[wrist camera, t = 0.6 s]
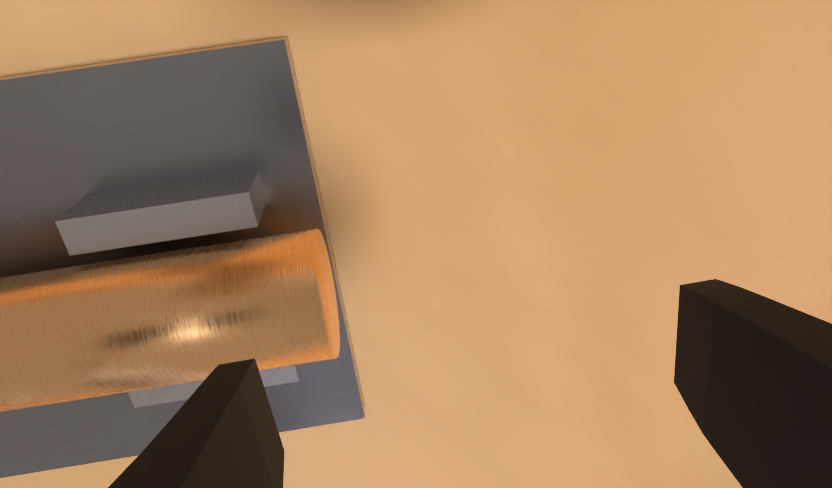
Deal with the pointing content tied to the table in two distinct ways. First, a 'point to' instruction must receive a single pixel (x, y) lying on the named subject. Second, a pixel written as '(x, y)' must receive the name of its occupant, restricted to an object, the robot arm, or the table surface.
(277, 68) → the firebox plate
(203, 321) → the copper tube
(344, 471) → the table surface
